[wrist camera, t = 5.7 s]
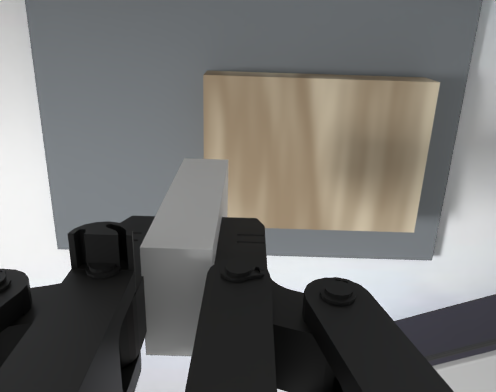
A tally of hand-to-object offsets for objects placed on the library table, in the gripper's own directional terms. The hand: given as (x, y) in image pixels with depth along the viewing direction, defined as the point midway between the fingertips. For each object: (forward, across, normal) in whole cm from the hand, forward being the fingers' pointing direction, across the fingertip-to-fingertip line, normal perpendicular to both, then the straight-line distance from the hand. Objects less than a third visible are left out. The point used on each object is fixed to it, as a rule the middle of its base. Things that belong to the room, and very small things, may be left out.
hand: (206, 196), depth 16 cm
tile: (+6, -1, 0) cm, 6 cm away
